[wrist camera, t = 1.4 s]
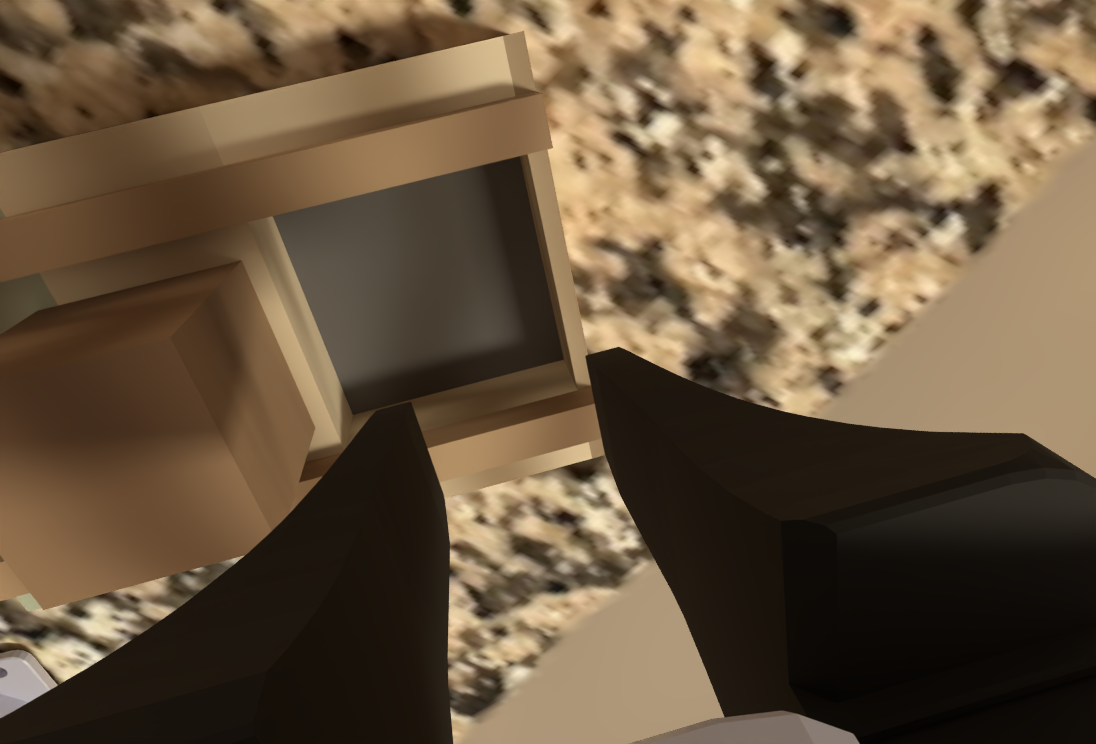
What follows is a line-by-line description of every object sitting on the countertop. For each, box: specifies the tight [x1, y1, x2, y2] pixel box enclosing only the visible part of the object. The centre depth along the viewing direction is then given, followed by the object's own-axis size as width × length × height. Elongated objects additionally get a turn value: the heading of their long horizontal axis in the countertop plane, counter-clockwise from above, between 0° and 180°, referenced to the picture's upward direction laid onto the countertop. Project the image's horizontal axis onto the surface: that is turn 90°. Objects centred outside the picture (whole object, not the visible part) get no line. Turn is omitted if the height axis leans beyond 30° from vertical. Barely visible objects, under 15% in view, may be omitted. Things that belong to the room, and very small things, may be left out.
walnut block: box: [0, 260, 315, 610], centre depth 15 cm, size 5×5×5 cm
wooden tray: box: [0, 31, 605, 611], centre depth 18 cm, size 18×12×4 cm, turn 103°
